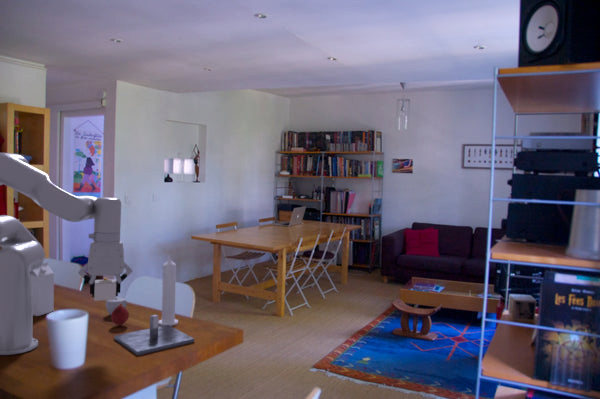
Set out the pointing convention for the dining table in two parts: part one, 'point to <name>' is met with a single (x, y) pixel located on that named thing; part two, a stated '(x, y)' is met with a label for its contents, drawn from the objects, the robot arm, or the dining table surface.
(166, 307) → the candle
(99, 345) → the dining table surface
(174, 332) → the hub plate
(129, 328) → the dining table surface
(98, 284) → the white cube box
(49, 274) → the milk carton
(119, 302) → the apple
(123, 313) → the onion
